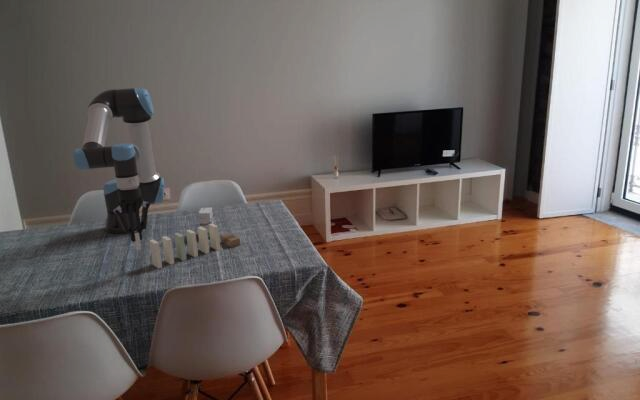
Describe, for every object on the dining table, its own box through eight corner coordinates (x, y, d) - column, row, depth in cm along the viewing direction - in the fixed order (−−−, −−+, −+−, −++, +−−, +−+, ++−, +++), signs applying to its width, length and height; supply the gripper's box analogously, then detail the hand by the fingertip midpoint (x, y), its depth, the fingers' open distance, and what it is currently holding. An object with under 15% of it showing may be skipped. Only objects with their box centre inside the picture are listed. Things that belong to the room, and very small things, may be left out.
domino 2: (170, 264, 193) (167, 240, 190) (165, 260, 196) (161, 236, 194) (174, 263, 194) (171, 239, 191) (169, 259, 197) (165, 235, 195)
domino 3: (182, 260, 196) (179, 236, 193) (177, 257, 200) (174, 233, 197) (186, 259, 197) (183, 235, 194) (180, 256, 200) (177, 232, 198)
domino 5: (205, 253, 202) (203, 230, 199) (200, 250, 206) (197, 227, 203) (209, 252, 203) (206, 229, 200) (203, 249, 207) (201, 226, 204)
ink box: (212, 238, 218) (209, 212, 215) (201, 239, 218) (198, 213, 214) (214, 231, 226) (212, 206, 223) (203, 232, 226) (200, 207, 223)
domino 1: (158, 268, 190) (154, 243, 187) (152, 264, 193) (149, 240, 191) (162, 267, 191) (158, 242, 188) (156, 263, 194) (153, 239, 192)
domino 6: (216, 250, 205) (214, 227, 202) (211, 247, 209) (208, 224, 206) (220, 249, 206) (218, 226, 203) (214, 246, 210) (212, 223, 207)
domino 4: (194, 257, 199) (191, 233, 196) (188, 253, 203) (186, 230, 200) (198, 256, 200) (195, 232, 197) (192, 252, 204) (189, 229, 201)
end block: (220, 242, 214) (220, 235, 213) (229, 239, 216) (228, 233, 215) (231, 247, 207) (231, 240, 206) (240, 245, 209) (239, 238, 208)
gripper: (113, 193, 172) (123, 256, 179) (150, 185, 180) (159, 246, 187) (106, 189, 178) (116, 250, 185) (142, 182, 186) (151, 241, 192)
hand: (138, 248), depth 186 cm, fingers closed
